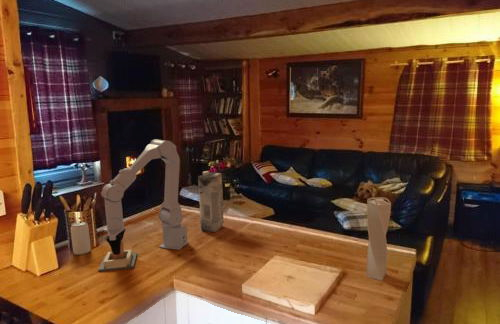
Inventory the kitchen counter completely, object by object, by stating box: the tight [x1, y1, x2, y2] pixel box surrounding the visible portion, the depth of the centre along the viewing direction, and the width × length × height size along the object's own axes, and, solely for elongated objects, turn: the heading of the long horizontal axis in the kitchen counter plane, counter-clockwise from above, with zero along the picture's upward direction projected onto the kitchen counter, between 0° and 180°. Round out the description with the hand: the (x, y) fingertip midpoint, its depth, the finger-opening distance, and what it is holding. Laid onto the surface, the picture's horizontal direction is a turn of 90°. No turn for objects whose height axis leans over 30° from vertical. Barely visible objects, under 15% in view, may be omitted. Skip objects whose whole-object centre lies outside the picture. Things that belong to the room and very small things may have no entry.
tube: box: [110, 235, 125, 260], centre depth 136 cm, size 4×4×8 cm
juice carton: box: [197, 170, 224, 233], centre depth 168 cm, size 9×10×27 cm
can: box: [70, 220, 91, 256], centre depth 147 cm, size 6×6×12 cm
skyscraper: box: [365, 196, 392, 282], centre depth 120 cm, size 8×8×28 cm
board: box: [98, 249, 138, 272], centre depth 137 cm, size 12×12×3 cm
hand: (117, 251), depth 137 cm, fingers closed on tube, 4 cm apart
